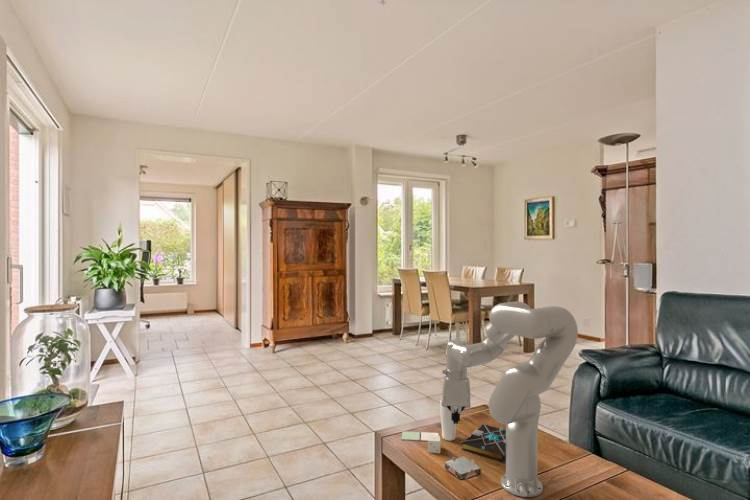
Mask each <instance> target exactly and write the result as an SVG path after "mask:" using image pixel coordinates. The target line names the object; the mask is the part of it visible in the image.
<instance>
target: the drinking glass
mask: <svg viewBox="0 0 750 500" xmlns="http://www.w3.org/2000/svg"><path fill="white" fill-rule="evenodd" d="M439 402H440V403H439V415H440V426H441V437H442V439H443V440H444V441H449V442H451V441H454V440H456V437H457V436H456V434H457V432H456V431H457V424H454V423H453V421H452V419H451V417H452V413H451V411H450V410H449V409H448V408H447V407H443V406H442V405H441V403H442V398H441V399H440V400H439ZM457 407H458V406H454V409H455V412H456V410H457Z"/></svg>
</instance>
